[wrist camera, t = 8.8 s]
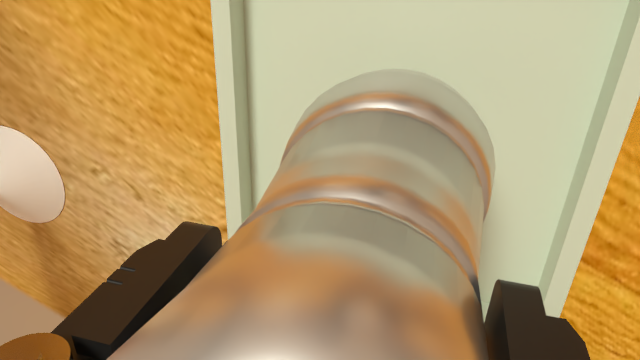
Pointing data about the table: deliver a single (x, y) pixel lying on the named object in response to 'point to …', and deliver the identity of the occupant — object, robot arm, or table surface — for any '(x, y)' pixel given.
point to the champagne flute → (28, 179)
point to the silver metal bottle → (350, 239)
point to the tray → (471, 82)
